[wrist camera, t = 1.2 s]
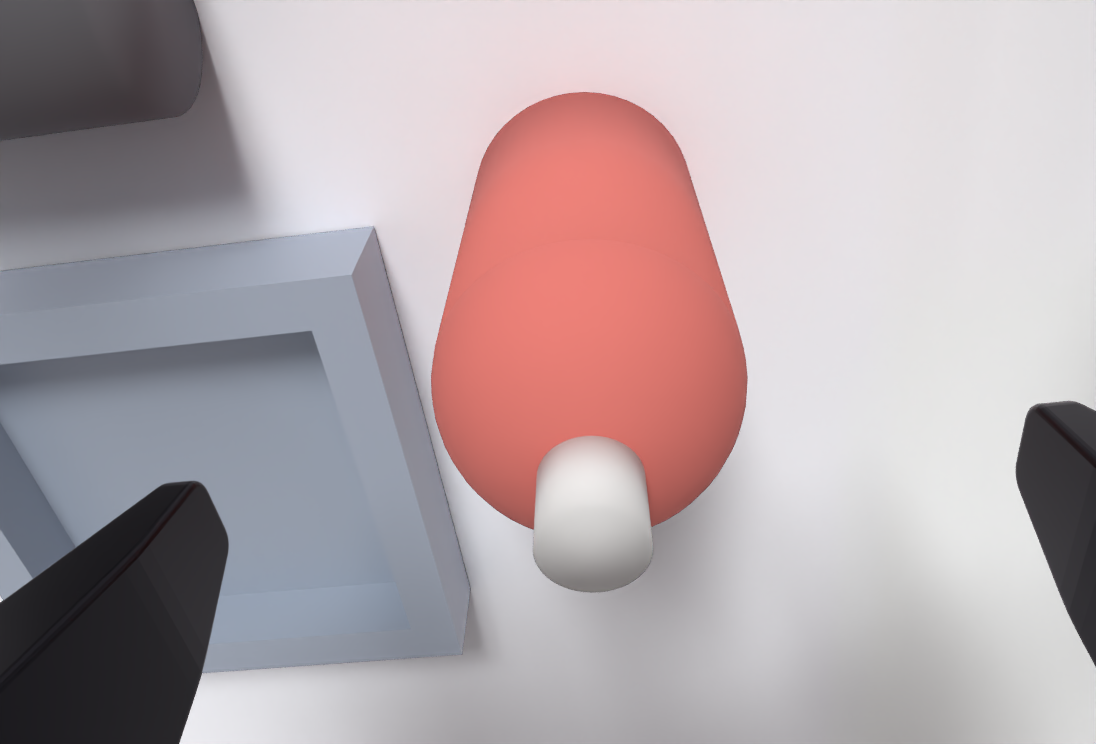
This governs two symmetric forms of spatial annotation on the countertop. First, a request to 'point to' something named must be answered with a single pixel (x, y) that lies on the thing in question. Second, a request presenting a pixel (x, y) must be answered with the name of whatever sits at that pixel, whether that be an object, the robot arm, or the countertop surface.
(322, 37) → the countertop surface
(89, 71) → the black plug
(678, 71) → the countertop surface
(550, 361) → the red rounded cylinder
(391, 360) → the tray
